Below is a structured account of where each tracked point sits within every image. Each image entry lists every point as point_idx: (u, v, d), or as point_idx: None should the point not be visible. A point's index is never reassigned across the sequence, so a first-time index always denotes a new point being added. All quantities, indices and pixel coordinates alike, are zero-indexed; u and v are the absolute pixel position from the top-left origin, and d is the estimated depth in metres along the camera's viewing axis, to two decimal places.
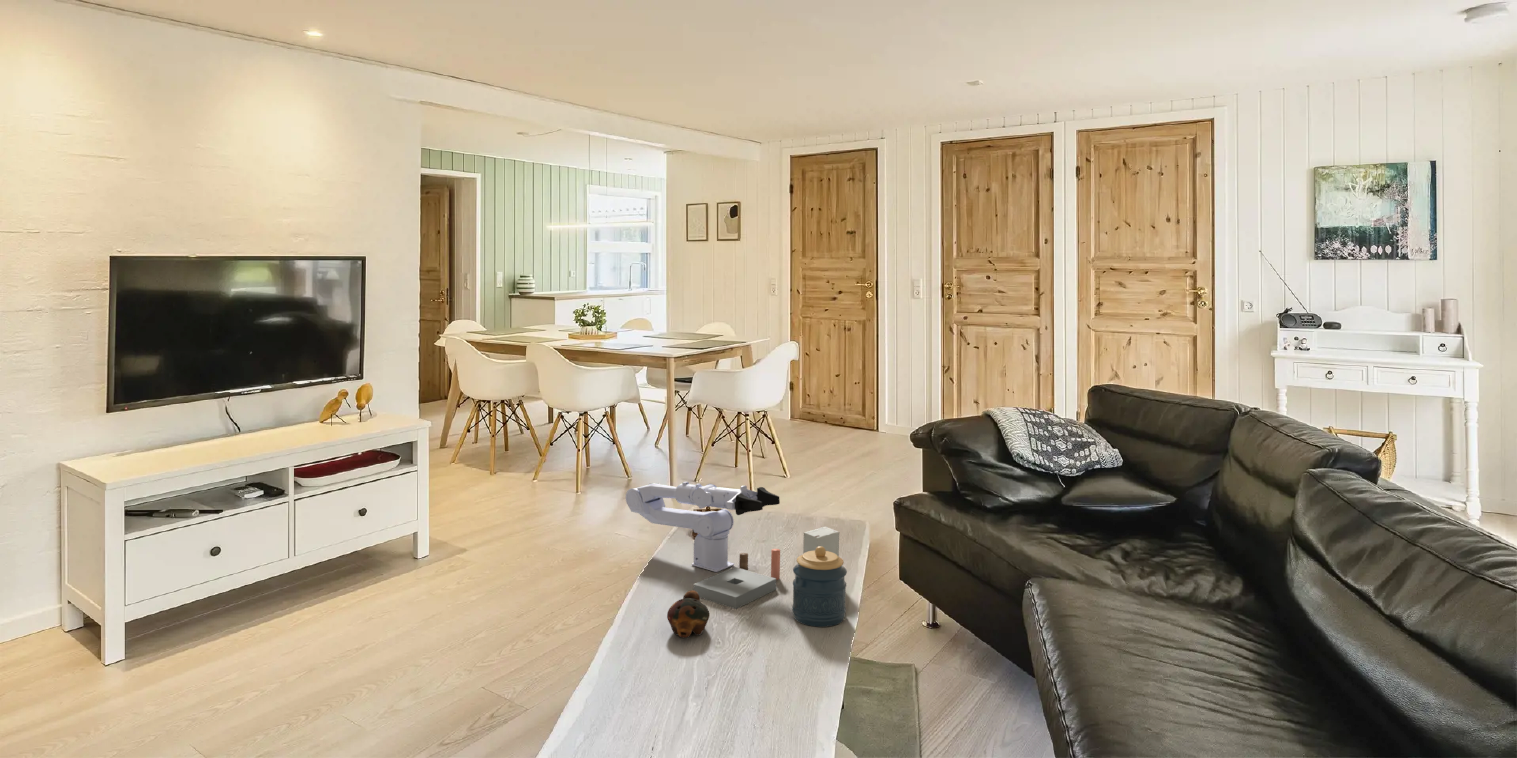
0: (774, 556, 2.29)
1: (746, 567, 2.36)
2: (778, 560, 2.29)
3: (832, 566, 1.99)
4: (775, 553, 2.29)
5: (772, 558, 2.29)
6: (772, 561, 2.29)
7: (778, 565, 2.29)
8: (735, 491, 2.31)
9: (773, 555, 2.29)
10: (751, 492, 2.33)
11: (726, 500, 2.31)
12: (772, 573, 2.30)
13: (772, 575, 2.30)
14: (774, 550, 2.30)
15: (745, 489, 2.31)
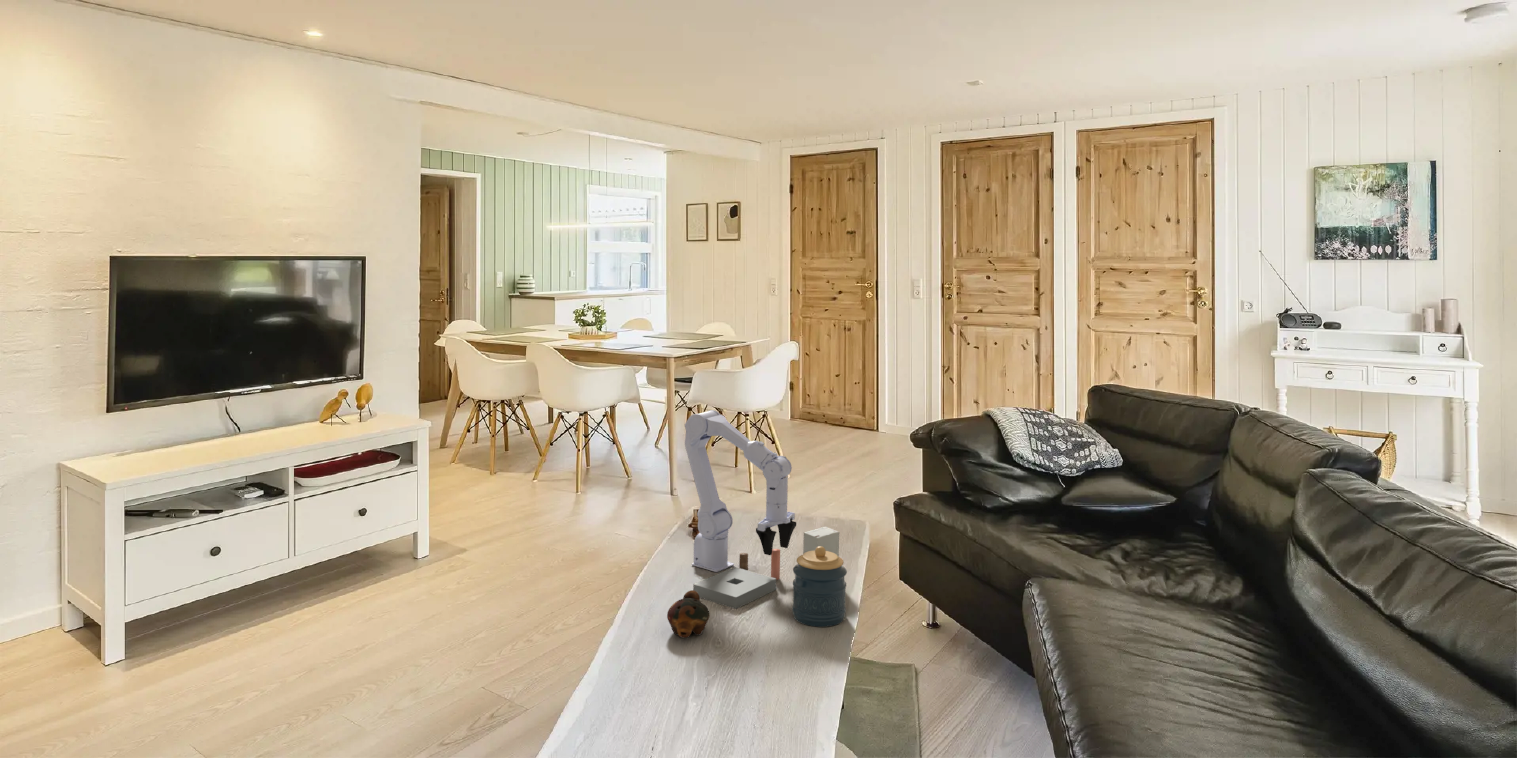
0: (774, 556, 2.29)
1: (746, 567, 2.36)
2: (778, 560, 2.29)
3: (832, 566, 1.99)
4: (775, 553, 2.29)
5: (772, 558, 2.29)
6: (772, 561, 2.29)
7: (778, 565, 2.29)
8: (782, 514, 2.26)
9: (773, 555, 2.29)
10: None
11: (771, 507, 2.26)
12: (772, 573, 2.30)
13: (772, 575, 2.30)
14: (774, 550, 2.30)
15: None
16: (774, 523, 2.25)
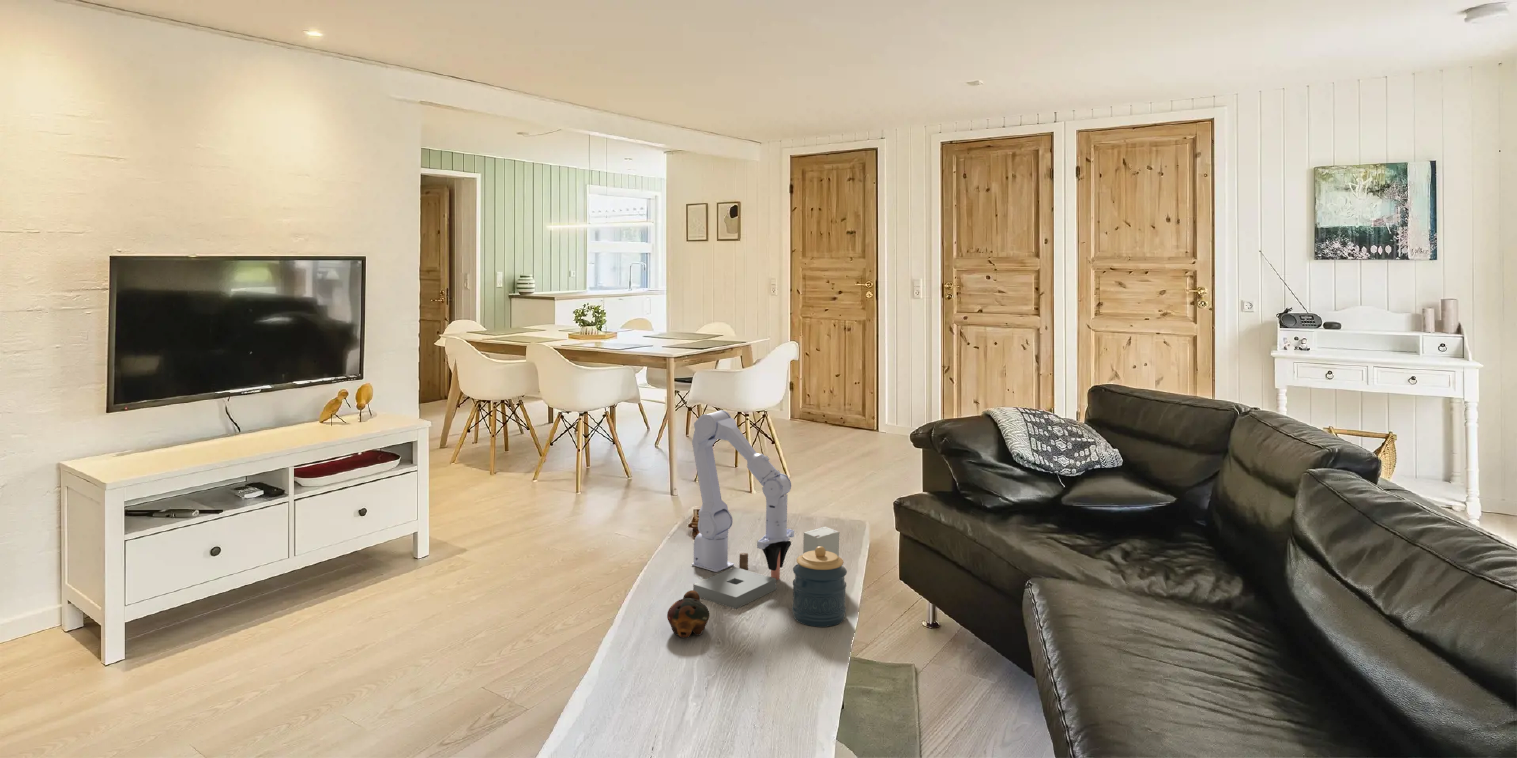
0: None
1: (746, 567, 2.36)
2: (778, 560, 2.29)
3: (832, 566, 1.99)
4: None
5: None
6: None
7: (778, 565, 2.29)
8: (781, 532, 2.27)
9: None
10: None
11: (770, 524, 2.27)
12: (772, 573, 2.30)
13: (772, 575, 2.30)
14: None
15: None
16: (774, 541, 2.25)
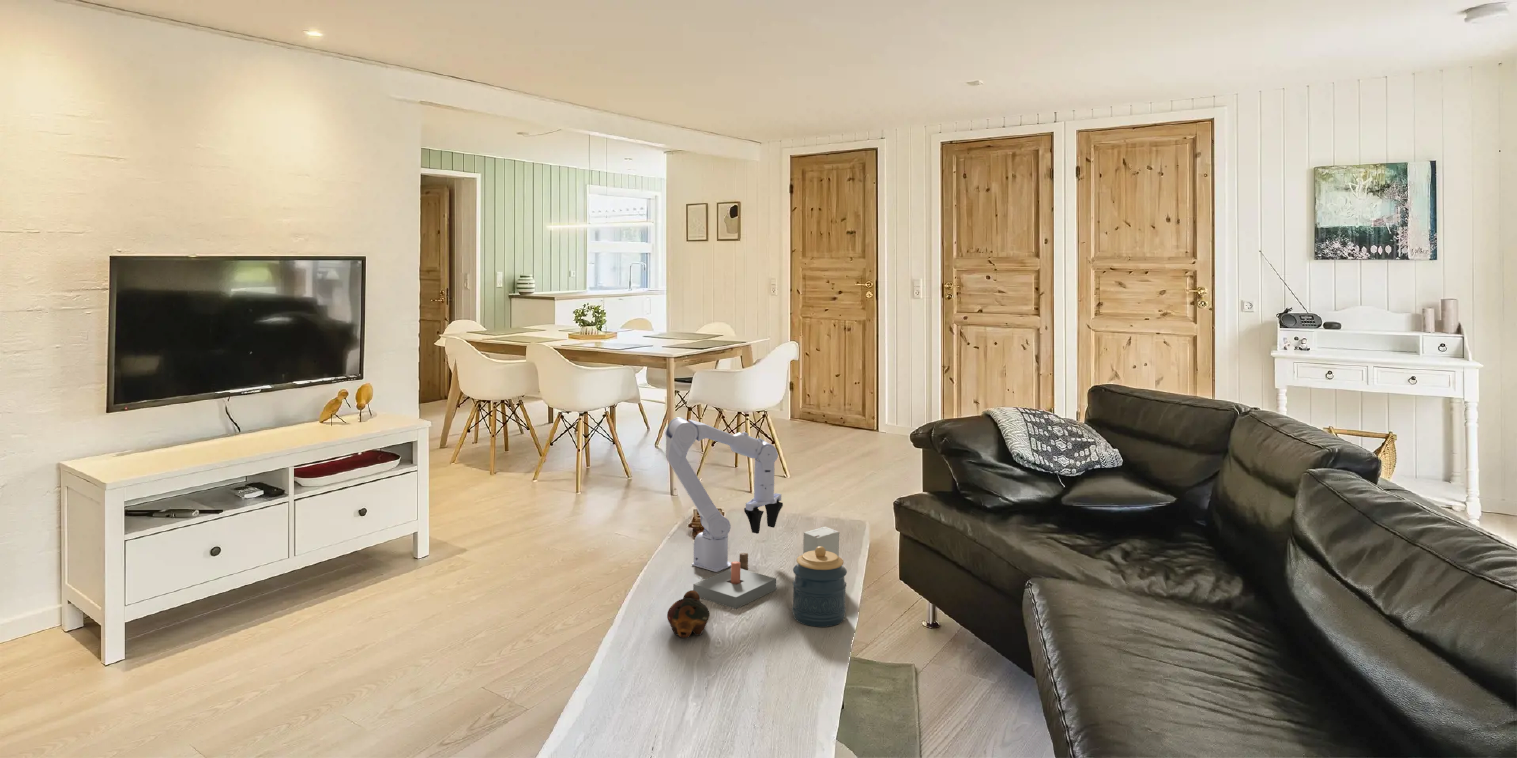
0: (734, 569, 2.18)
1: (746, 567, 2.36)
2: (738, 573, 2.19)
3: (832, 566, 1.99)
4: (735, 566, 2.18)
5: (732, 571, 2.19)
6: (732, 574, 2.19)
7: (738, 579, 2.19)
8: (769, 495, 2.40)
9: (733, 568, 2.18)
10: None
11: (758, 488, 2.39)
12: None
13: None
14: (734, 563, 2.19)
15: None
16: (761, 503, 2.38)
